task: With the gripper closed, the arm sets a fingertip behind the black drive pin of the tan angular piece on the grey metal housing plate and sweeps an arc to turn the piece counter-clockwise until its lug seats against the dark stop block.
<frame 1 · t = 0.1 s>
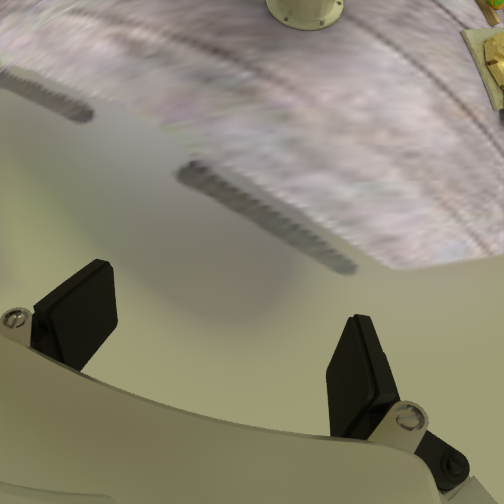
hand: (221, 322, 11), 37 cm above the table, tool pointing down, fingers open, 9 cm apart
housing plate: (501, 66, 29), on the table
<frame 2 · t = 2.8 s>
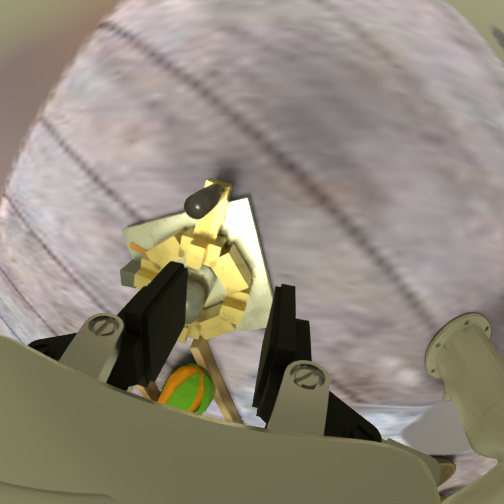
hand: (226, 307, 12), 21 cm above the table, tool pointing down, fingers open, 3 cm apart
planter bowl: (424, 501, 64), on the table
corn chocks: (186, 387, 44), on the table
tan angular piece: (191, 273, 29), point 6 cm above the table, hinge at 0.0°
housing plate: (202, 273, 35), on the table
plant saucer: (403, 477, 53), on the table
corn: (185, 388, 44), touching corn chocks
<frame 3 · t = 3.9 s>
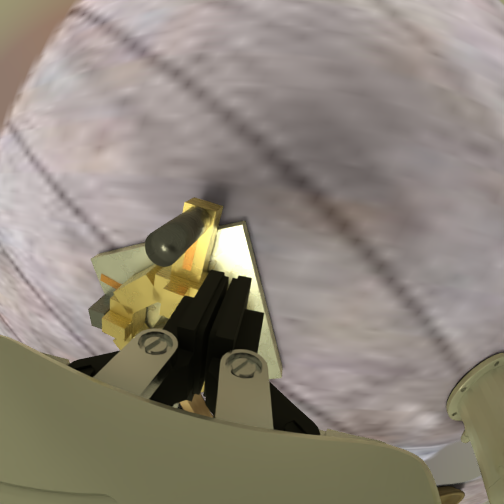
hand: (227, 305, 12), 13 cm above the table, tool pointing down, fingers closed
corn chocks: (176, 428, 36), on the table
tan angular piece: (169, 324, 21), point 6 cm above the table, hinge at 0.0°
housing plate: (187, 314, 28), on the table
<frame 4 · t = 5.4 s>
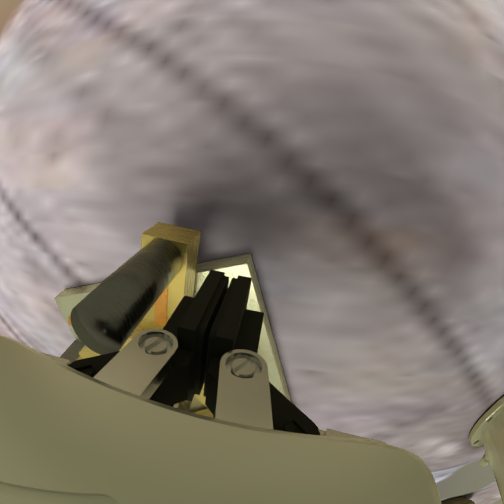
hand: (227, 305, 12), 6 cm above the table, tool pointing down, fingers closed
tan angular piece: (149, 395, 15), point 6 cm above the table, hinge at 4.9°, touching gripper
housing plate: (178, 364, 21), on the table
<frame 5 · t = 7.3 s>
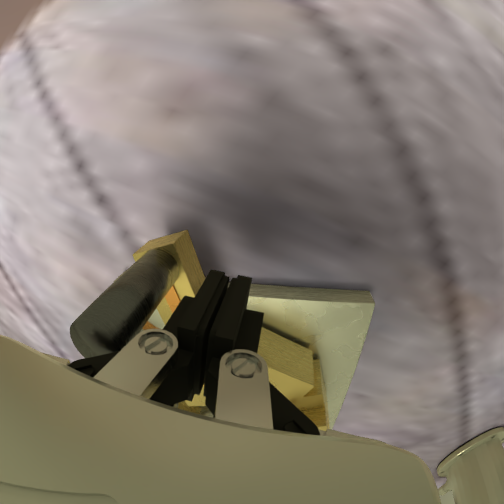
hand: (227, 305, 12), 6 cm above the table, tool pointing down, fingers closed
tan angular piece: (209, 410, 14), point 6 cm above the table, hinge at 47.9°, touching gripper
housing plate: (239, 374, 21), on the table
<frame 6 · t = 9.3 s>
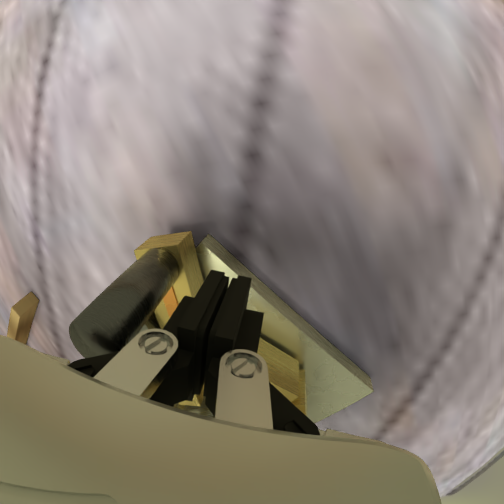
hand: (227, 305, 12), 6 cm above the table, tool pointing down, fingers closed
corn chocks: (60, 382, 26), on the table
tan angular piece: (193, 409, 14), point 6 cm above the table, hinge at 82.6°, touching gripper, housing plate
housing plate: (224, 374, 21), on the table
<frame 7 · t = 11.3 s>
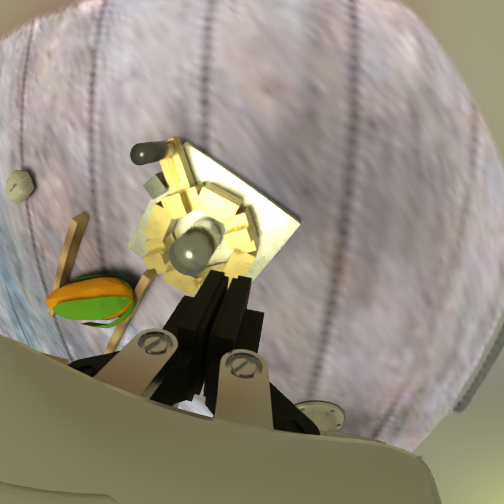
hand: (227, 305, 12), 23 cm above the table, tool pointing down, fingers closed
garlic: (29, 182, 36), on the table
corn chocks: (97, 290, 42), on the table
tan angular piece: (184, 224, 29), point 6 cm above the table, hinge at 82.6°
housing plate: (208, 231, 36), on the table
corn: (96, 291, 42), touching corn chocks
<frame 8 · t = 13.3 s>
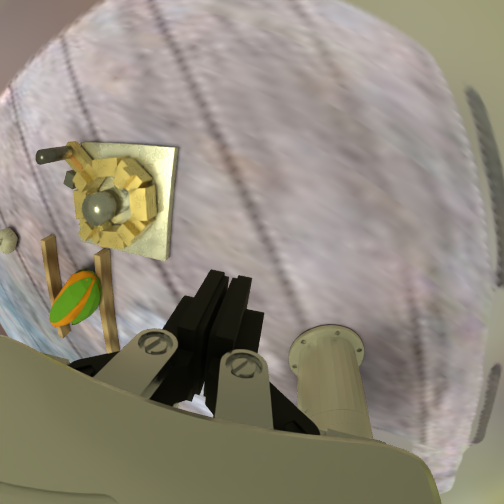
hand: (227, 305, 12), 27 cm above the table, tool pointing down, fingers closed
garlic: (14, 236, 46), on the table
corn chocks: (83, 295, 48), on the table
tan angular piece: (89, 191, 34), point 6 cm above the table, hinge at 82.6°
housing plate: (124, 197, 39), on the table
corn: (82, 296, 47), touching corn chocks
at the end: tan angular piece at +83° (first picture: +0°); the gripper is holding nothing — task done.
